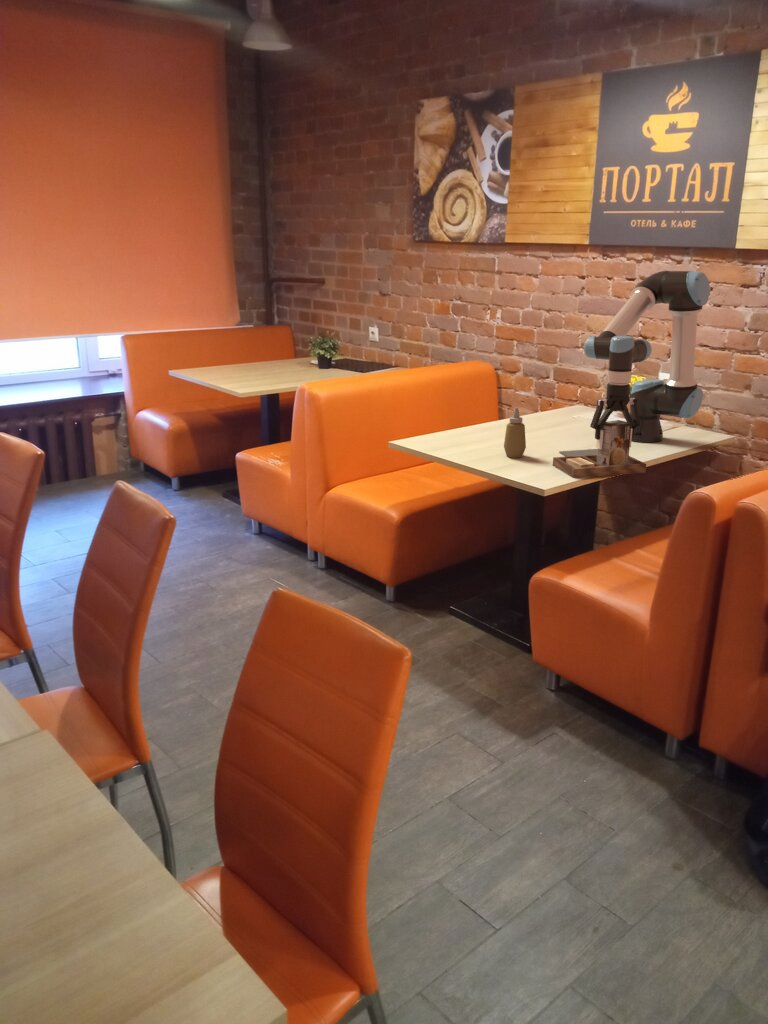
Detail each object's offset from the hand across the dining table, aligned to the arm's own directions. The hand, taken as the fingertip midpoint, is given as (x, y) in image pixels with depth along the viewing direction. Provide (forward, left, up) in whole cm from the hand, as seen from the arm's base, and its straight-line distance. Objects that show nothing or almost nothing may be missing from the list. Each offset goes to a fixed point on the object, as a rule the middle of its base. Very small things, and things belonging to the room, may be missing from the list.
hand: (613, 447), depth 283 cm
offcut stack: (+12, 0, -8) cm, 14 cm away
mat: (-1, -18, -7) cm, 19 cm away
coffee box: (0, 0, -7) cm, 7 cm away
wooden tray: (+5, 0, -7) cm, 9 cm away
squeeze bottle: (+26, -24, -8) cm, 37 cm away
